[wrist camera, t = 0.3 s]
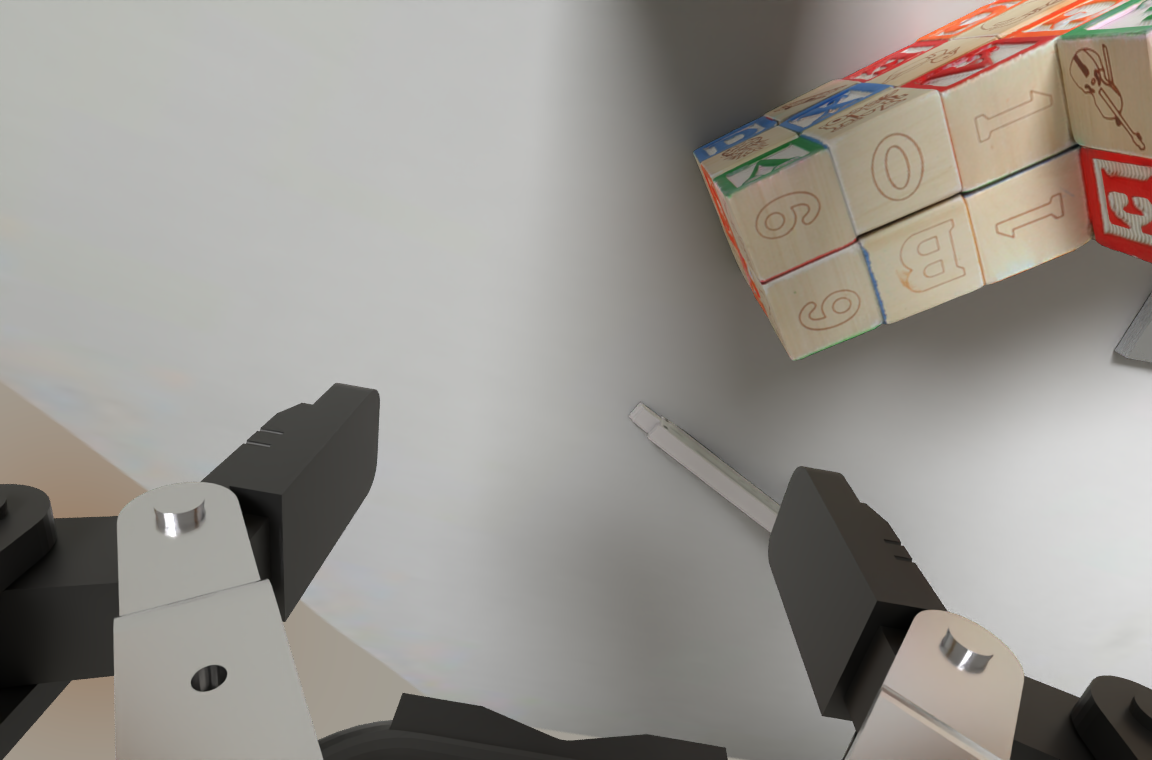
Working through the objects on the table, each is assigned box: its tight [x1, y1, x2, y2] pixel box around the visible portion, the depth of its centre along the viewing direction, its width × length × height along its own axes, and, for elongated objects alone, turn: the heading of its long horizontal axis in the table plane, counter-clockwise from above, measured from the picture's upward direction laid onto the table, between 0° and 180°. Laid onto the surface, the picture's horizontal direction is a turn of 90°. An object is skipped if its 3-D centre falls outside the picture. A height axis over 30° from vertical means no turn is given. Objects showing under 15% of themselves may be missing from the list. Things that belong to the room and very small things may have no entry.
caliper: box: [629, 403, 781, 533], centre depth 32 cm, size 20×1×6 cm, turn 55°
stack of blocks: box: [693, 0, 1152, 361], centre depth 19 cm, size 21×6×12 cm, turn 117°
